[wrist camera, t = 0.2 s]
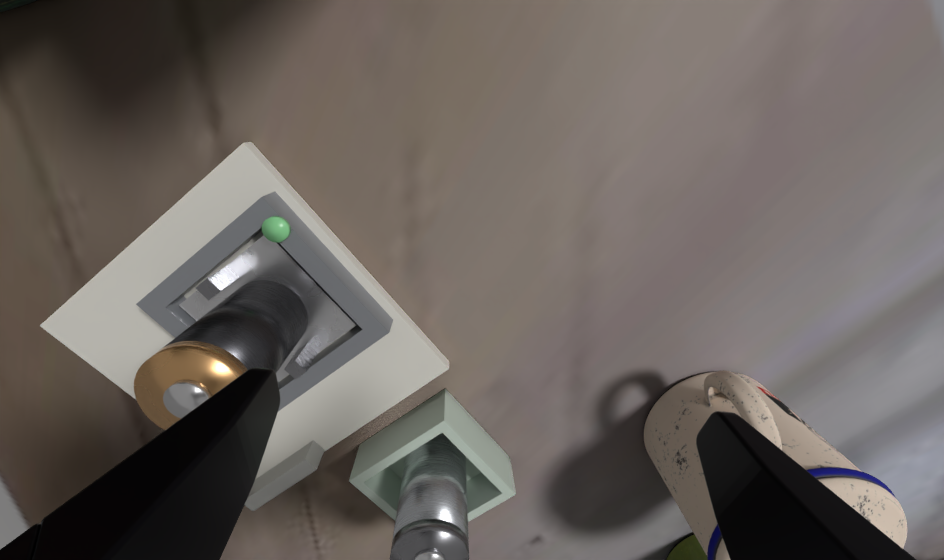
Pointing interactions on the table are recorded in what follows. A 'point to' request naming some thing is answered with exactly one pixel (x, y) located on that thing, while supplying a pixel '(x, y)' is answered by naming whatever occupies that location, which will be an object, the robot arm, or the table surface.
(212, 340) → the cell
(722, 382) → the teacup with lid
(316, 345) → the cradle
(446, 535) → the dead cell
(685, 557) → the plant pot
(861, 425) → the table surface
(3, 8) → the coffee jar
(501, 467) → the cup
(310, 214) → the white square base board
